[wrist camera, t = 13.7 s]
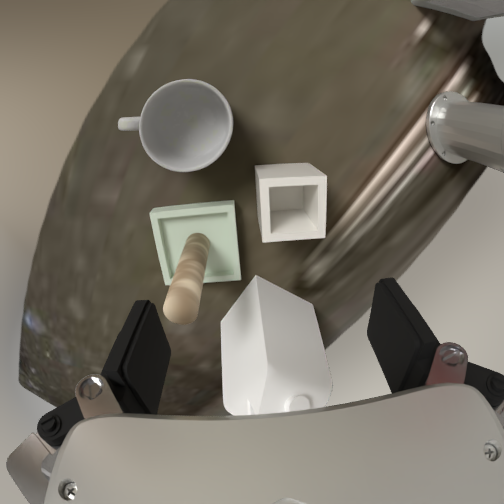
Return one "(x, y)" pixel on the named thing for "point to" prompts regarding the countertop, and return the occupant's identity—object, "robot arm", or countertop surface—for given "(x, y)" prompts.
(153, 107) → the teacup
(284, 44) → the countertop surface
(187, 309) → the dowel
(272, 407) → the milk
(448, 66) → the countertop surface
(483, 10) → the red and white block
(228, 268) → the tray
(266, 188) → the open box
